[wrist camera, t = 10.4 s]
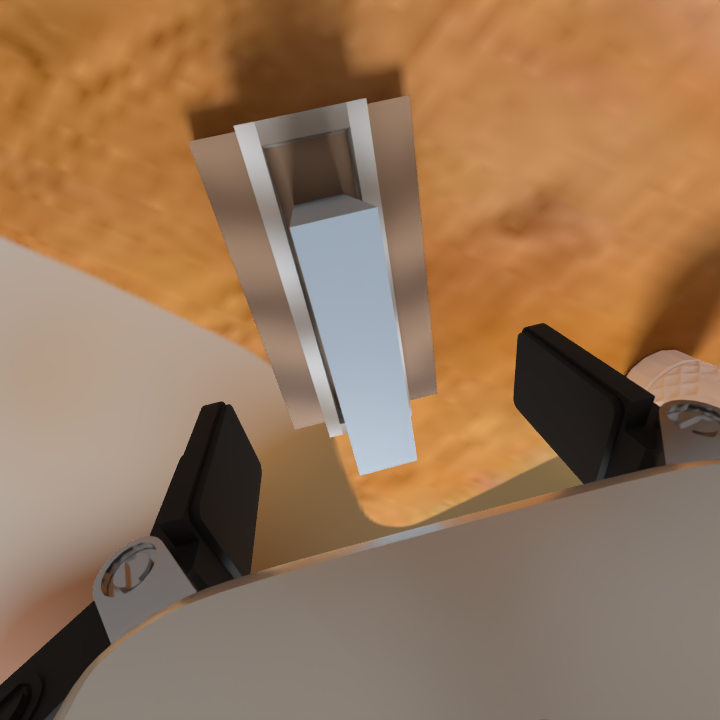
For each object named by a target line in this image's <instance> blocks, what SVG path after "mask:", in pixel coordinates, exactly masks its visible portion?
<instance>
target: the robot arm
mask: <svg viewBox="0 0 720 720" xmlns="http://www.w3.org/2000/svg"><path fill="white" fill-rule="evenodd" d="M513 398H514V404H515V406H516V408H517V409H518V410H519V411H520V413H521V414H522V415H523V416H524V417H525V418H526V419H527V421H528V422H529V423H530V424H531V425H532V426H533V427H534V428H535V430H536V431H537V432H538V433H539V434H540V435H541V436H542V437H543V439H544V440H545V441H546V442H547V443H548V444H549V445H550V446H551V448H552V449H553V450H554V451H555V452H556V453H557V454H558V456H559V457H560V458H561V459H562V460H563V461H564V462H565V463H566V465H567V466H568V467H569V468H570V469H571V470H572V471H573V472H574V474H575V475H576V476H577V477H578V478H579V479H580V480H581V481H582V483H583V485H579V486H575V487H572V488H568V489H564V490H560V491H556V492H552V493H549V494H545V495H541V496H537V497H533V498H529V499H525V500H521V501H518V502H514V503H510V504H506V505H502V506H498V507H495V508H491V509H487V510H483V511H480V512H476V513H472V514H468V515H464V516H461V517H457V518H453V519H450V520H446V521H442V522H438V523H434V524H431V525H427V526H423V527H419V528H415V529H412V530H408V531H404V532H401V533H397V534H393V535H389V536H386V537H382V538H378V539H375V540H371V541H367V542H363V543H360V544H356V545H353V546H349V547H345V548H341V549H338V550H334V551H330V552H327V553H323V554H319V555H315V556H312V557H308V558H304V559H301V560H297V561H294V562H290V563H287V564H283V565H280V566H276V567H273V568H270V569H266V570H263V571H260V572H256V573H253V574H250V572H251V563H252V553H253V545H254V536H255V528H256V519H257V511H258V502H259V493H260V484H261V476H262V469H261V464H260V462H259V460H258V458H257V456H256V454H255V452H254V450H253V448H252V446H251V444H250V441H249V440H248V437H247V436H246V433H245V431H244V429H243V427H242V425H241V423H240V421H239V419H238V417H237V415H236V413H235V411H234V409H233V407H232V406H231V405H230V404H228V405H225V403H224V402H217V403H213V404H209V405H205V406H203V407H202V408H201V411H200V413H199V416H198V419H197V421H196V424H195V426H194V429H193V432H192V434H191V437H190V439H189V442H188V444H187V447H186V450H185V452H184V455H183V456H182V457H181V458H180V460H179V463H178V465H177V468H176V470H175V473H174V475H173V478H172V480H171V483H170V485H169V488H168V491H167V493H166V496H165V498H164V501H163V503H162V506H161V508H160V511H159V513H158V516H157V518H156V521H155V524H154V526H153V529H152V531H151V534H150V536H146V537H141V538H138V539H136V540H134V541H131V542H129V543H128V544H127V545H125V546H123V547H122V548H120V549H119V550H118V551H117V552H116V553H115V554H114V555H113V556H112V557H110V559H109V560H108V561H107V562H106V563H105V565H104V566H103V567H102V568H101V570H100V572H99V574H98V576H97V577H96V579H95V583H94V587H93V597H94V601H93V602H92V603H91V604H90V605H89V606H87V607H86V608H85V609H84V610H83V611H82V612H81V613H80V614H79V615H77V617H75V618H74V619H73V620H72V621H71V622H70V623H69V624H68V625H66V626H65V627H64V628H63V629H62V630H61V631H60V632H59V633H58V634H57V635H55V636H54V637H53V638H52V639H51V640H50V641H49V642H48V643H46V645H44V646H43V647H42V648H41V649H40V650H39V651H38V652H37V653H35V654H34V655H33V656H32V657H31V658H30V659H29V660H28V661H27V662H26V663H24V664H23V665H22V666H21V667H20V668H19V669H18V670H17V671H15V672H14V673H13V674H12V675H11V676H10V677H9V678H8V679H7V680H6V681H4V682H3V683H2V684H1V685H0V720H720V408H718V407H716V406H713V405H710V404H707V403H703V402H698V401H693V400H672V401H669V402H666V403H664V404H663V405H662V406H661V407H660V406H658V405H657V404H655V403H654V399H655V396H654V395H653V394H651V393H650V392H648V391H647V390H645V389H644V388H642V387H641V386H639V385H638V384H636V383H635V382H633V381H632V380H630V379H628V378H627V377H625V376H624V375H622V374H621V373H619V372H618V371H616V370H615V369H613V368H612V367H610V366H609V365H607V364H606V363H604V362H603V361H601V360H600V359H598V358H597V357H595V356H593V355H592V354H590V353H589V352H587V351H586V350H584V349H583V348H581V347H580V346H578V345H577V344H575V343H574V342H572V341H571V340H569V339H568V338H566V337H565V336H563V335H562V334H560V333H559V332H557V331H555V330H554V329H552V328H551V327H549V326H548V325H546V324H544V323H541V324H537V325H533V326H529V327H525V328H524V329H523V330H522V333H520V334H519V335H518V340H517V354H516V369H515V383H514V397H513Z"/></svg>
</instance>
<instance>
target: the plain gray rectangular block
mask: <svg viewBox="0 0 720 720" xmlns="http://www.w3.org/2000/svg"><path fill="white" fill-rule="evenodd" d="M289 228H290V232H291V235H292V239H293V242H294V246H295V249H296V253H297V256H298V260H299V263H300V267H301V270H302V274H303V277H304V281H305V284H306V288H307V291H308V295H309V298H310V302H311V305H312V309H313V312H314V316H315V319H316V323H317V326H318V330H319V333H320V337H321V340H322V344H323V347H324V351H325V354H326V358H327V361H328V365H329V368H330V372H331V375H332V379H333V382H334V386H335V389H336V393H337V396H338V400H339V403H340V407H341V410H342V414H343V417H344V421H345V424H346V428H347V431H348V435H349V438H350V442H351V445H352V449H353V452H354V456H355V460H356V463H357V467H358V470H359V474H360V475H364V474H368V473H372V472H375V471H379V470H383V469H387V468H390V467H394V466H398V465H402V464H405V463H409V462H413V461H417V454H416V448H415V442H414V436H413V429H412V423H411V417H410V410H409V404H408V398H407V391H406V385H405V379H404V372H403V366H402V360H401V353H400V347H399V341H398V334H397V328H396V322H395V316H394V309H393V303H392V297H391V290H390V284H389V278H388V271H387V265H386V259H385V252H384V246H383V240H382V233H381V227H380V221H379V215H378V208H377V207H376V206H373V205H371V204H368V203H366V202H363V201H361V200H358V199H356V198H353V197H350V196H348V195H345V194H340V195H336V196H332V197H327V198H323V199H319V200H314V201H310V202H306V203H302V204H297V205H294V206H293V211H292V217H291V222H290V227H289Z"/></svg>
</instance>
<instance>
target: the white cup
mask: <svg viewBox="0 0 720 720" xmlns="http://www.w3.org/2000/svg"><path fill="white" fill-rule="evenodd" d="M626 377H627V378H628V379H630V380H632V381H633V382H635V383H636V384H638V385H639V386H641V387H642V388H644V389H645V390H647V391H648V392H650V393H651V394H653V395H654V396H655V399H654V403H655V404H657V405H658V406H660V407H661V406H662V405H663V404H664V403H666V402H669V401H672V400H693V401H698V402H703V403H707V404H710V405H713V406H716V407H718V408H720V366H717V365H715V364H712V363H707V362H703V361H701V360H699V359H697V358H694V357H692V356H689V355H687V354H685V353H682V352H680V351H677V350H661V351H658V352H656V353H654V354H652V355H649V356H647V357H645V358H644V359H643V360H641V361H640V362H639V363H638V364H637V365H635V366H634V367H633V368H632V369H631V370H630V372H629V373H628V375H627V376H626Z"/></svg>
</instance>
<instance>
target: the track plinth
mask: <svg viewBox="0 0 720 720" xmlns="http://www.w3.org/2000/svg"><path fill="white" fill-rule="evenodd" d="M234 130H235V132H232V133H227V134H222V135H217V136H213V137H208V138H203V139H199V140H194V141H189V142H188V144H189V146H190V149H191V152H192V154H193V157H194V160H195V162H196V165H197V168H198V171H199V173H200V176H201V179H202V181H203V184H204V187H205V189H206V192H207V195H208V197H209V200H210V203H211V205H212V208H213V211H214V213H215V216H216V219H217V221H218V224H219V227H220V229H221V232H222V235H223V237H224V240H225V243H226V246H227V248H228V251H229V254H230V256H231V259H232V262H233V264H234V267H235V270H236V272H237V275H238V278H239V280H240V283H241V286H242V288H243V291H244V294H245V296H246V299H247V302H248V304H249V307H250V310H251V313H252V315H253V318H254V321H255V323H256V326H257V329H258V331H259V334H260V337H261V339H262V342H263V345H264V347H265V350H266V353H267V355H268V358H269V361H270V363H271V366H272V369H273V371H274V374H275V377H276V379H277V382H278V385H279V388H280V390H281V393H282V395H283V398H284V401H285V404H286V406H287V409H288V411H289V414H290V417H291V420H292V422H293V425H294V428H295V429H299V428H303V427H307V426H311V425H314V424H318V423H322V422H325V423H326V425H327V429H328V432H329V435H330V437H334V436H338V435H342V434H346V433H348V431H347V428H346V424H345V421H344V417H343V414H342V410H341V407H340V403H339V400H338V396H337V393H336V389H335V386H334V382H333V379H332V375H331V372H330V368H329V365H328V361H327V358H326V354H325V351H324V347H323V344H322V340H321V337H320V333H319V330H318V326H317V323H316V319H315V316H314V312H313V309H312V305H311V302H310V298H309V295H308V291H307V288H306V284H305V281H304V277H303V274H302V270H301V267H300V263H299V260H298V256H297V253H296V249H295V246H294V242H293V239H292V235H291V232H290V228H289V227H290V222H291V217H292V211H293V206H294V205H297V204H302V203H306V202H310V201H314V200H319V199H323V198H327V197H332V196H336V195H340V194H345V195H348V196H350V197H353V198H356V199H358V200H361V201H363V202H366V203H368V204H371V205H373V206H376V207H377V208H378V215H379V221H380V227H381V233H382V240H383V246H384V252H385V259H386V265H387V271H388V278H389V284H390V290H391V297H392V303H393V309H394V316H395V322H396V328H397V334H398V341H399V347H400V353H401V360H402V366H403V372H404V379H405V385H406V391H407V398H408V404H409V410H410V417H412V412H411V405H410V400H414V399H417V398H421V397H425V396H429V395H433V394H437V385H436V375H435V364H434V353H433V342H432V332H431V321H430V310H429V299H428V289H427V278H426V267H425V256H424V246H423V235H422V224H421V213H420V203H419V192H418V181H417V170H416V159H415V149H414V138H413V127H412V116H411V106H410V95H407V96H402V97H397V98H393V99H388V100H383V101H378V102H374V103H369V104H367V100H366V98H363V99H359V100H354V101H349V102H344V103H340V104H335V105H330V106H325V107H321V108H316V109H311V110H306V111H302V112H297V113H292V114H287V115H283V116H278V117H273V118H268V119H264V120H259V121H254V122H249V123H245V124H240V125H235V126H234Z"/></svg>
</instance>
